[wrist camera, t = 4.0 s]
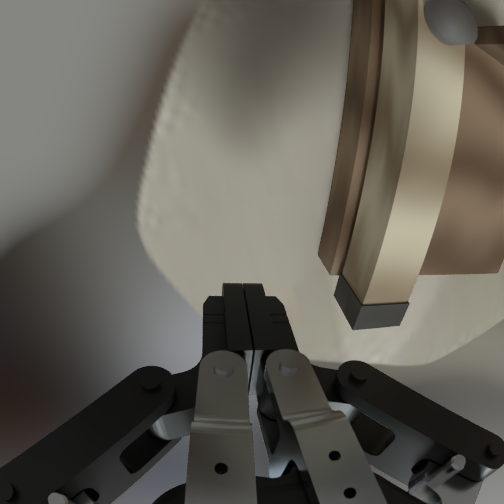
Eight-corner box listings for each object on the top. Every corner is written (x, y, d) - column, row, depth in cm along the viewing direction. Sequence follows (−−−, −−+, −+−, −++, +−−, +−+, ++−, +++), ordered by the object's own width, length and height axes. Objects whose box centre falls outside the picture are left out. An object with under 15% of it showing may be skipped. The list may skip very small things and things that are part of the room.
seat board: (354, -14, 11) (406, -47, 6) (520, 80, 14) (570, 90, 9) (317, 255, 20) (351, 311, 14) (482, 259, 22) (520, 294, 17)
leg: (381, -10, 9) (430, -32, 6) (428, 12, 10) (481, 1, 6) (333, 294, 18) (360, 343, 14) (376, 293, 18) (407, 338, 14)
